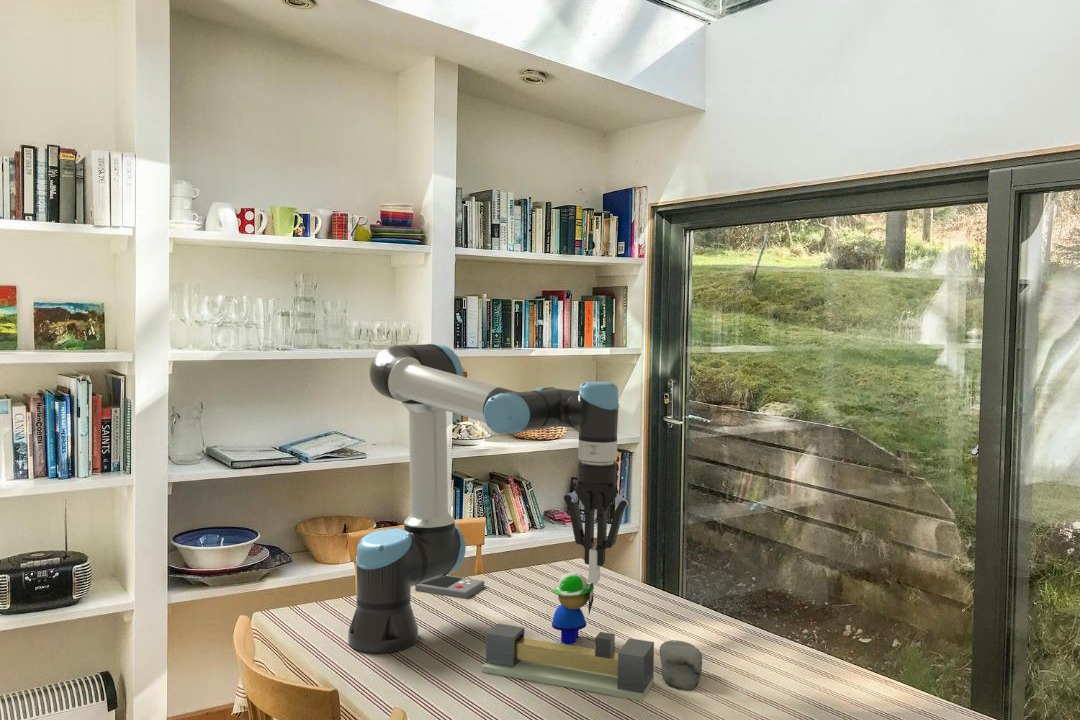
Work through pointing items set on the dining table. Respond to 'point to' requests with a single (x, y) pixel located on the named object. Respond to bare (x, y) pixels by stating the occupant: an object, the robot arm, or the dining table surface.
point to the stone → (680, 664)
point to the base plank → (565, 678)
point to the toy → (571, 605)
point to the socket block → (635, 665)
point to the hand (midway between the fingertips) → (594, 580)
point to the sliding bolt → (572, 654)
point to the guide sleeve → (502, 645)
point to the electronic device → (451, 586)
